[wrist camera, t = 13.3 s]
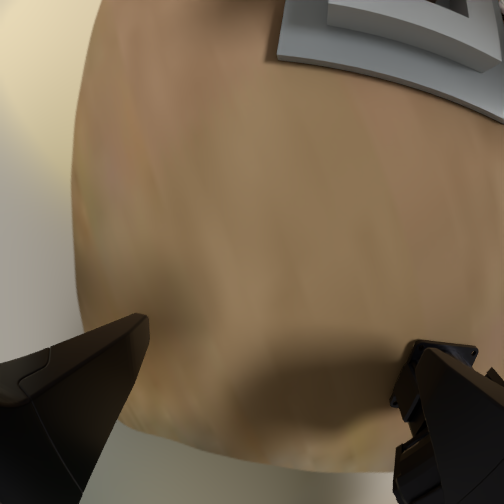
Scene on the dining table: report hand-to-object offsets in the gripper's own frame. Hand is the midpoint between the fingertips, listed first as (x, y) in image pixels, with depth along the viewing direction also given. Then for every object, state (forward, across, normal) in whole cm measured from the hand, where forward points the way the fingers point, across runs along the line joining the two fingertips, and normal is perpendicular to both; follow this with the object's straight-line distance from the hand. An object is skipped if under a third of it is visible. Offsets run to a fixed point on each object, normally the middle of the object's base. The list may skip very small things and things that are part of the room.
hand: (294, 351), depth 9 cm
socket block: (+13, -7, -21) cm, 26 cm away
